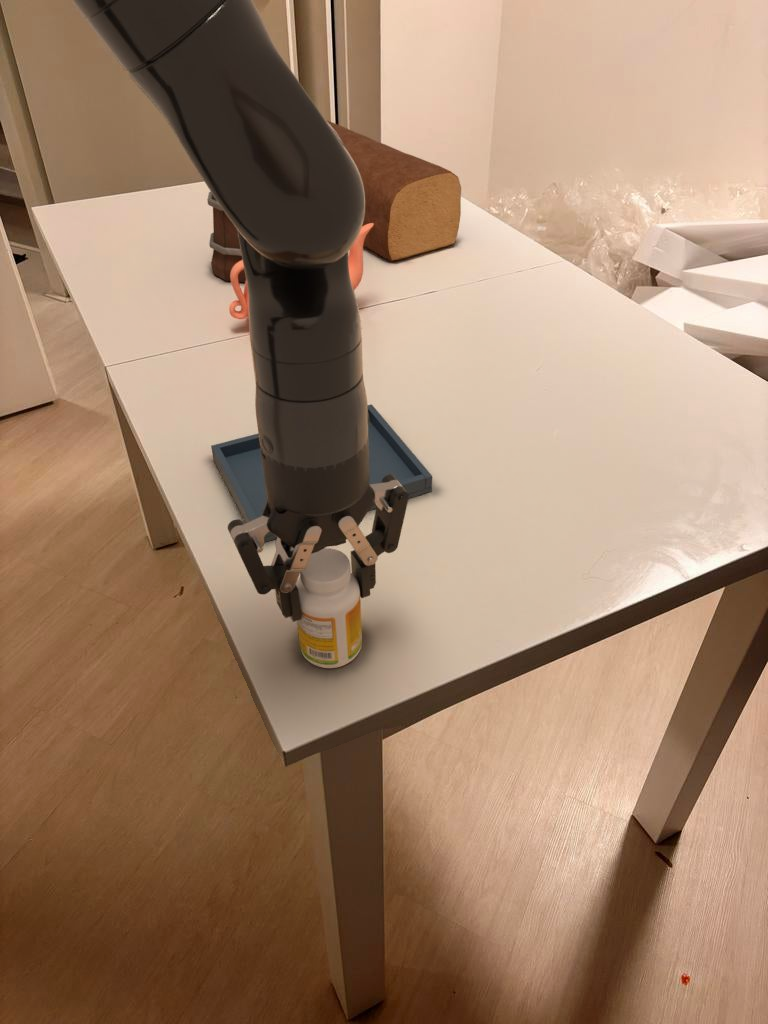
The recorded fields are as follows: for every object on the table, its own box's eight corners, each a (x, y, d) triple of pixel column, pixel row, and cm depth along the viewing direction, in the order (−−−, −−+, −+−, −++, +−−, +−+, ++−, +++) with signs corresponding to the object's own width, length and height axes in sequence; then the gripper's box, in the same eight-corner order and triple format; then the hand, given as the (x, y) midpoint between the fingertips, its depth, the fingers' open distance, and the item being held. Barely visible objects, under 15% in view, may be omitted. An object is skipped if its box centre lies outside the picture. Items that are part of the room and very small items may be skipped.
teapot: (356, 284, 126) (353, 203, 118) (397, 326, 115) (397, 240, 107) (218, 310, 119) (206, 227, 111) (248, 358, 108) (236, 269, 100)
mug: (295, 274, 129) (287, 178, 119) (222, 288, 125) (207, 190, 115) (266, 241, 140) (256, 150, 130) (198, 252, 136) (182, 160, 126)
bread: (341, 184, 162) (338, 112, 154) (462, 244, 137) (466, 162, 129) (274, 200, 156) (267, 125, 147) (388, 266, 131) (387, 181, 122)
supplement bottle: (347, 614, 72) (342, 533, 66) (372, 656, 69) (370, 575, 62) (291, 634, 71) (280, 553, 64) (313, 678, 67) (305, 597, 61)
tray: (256, 544, 80) (254, 529, 78) (213, 460, 90) (210, 445, 89) (432, 491, 86) (432, 475, 84) (372, 418, 97) (371, 403, 95)
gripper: (385, 382, 60) (387, 548, 71) (197, 429, 55) (229, 599, 66) (431, 433, 55) (425, 605, 66) (228, 490, 50) (258, 664, 61)
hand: (327, 601), depth 66 cm, fingers closed on supplement bottle, 5 cm apart
